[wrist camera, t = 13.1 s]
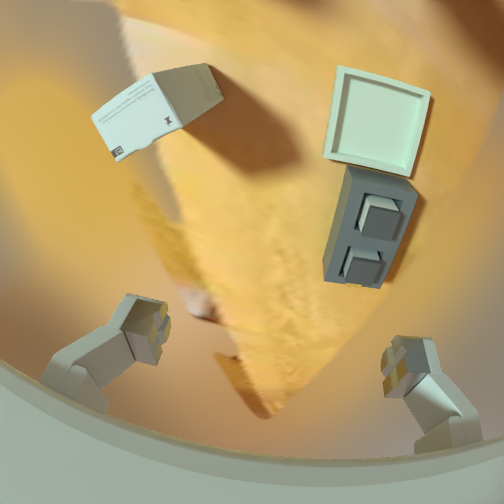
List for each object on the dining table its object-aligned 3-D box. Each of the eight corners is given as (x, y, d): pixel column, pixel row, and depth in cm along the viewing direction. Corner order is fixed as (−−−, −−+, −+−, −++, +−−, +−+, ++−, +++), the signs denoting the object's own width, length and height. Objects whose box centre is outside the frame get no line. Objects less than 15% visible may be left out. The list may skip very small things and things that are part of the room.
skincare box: (207, 62, 31) (155, 65, 19) (226, 101, 34) (186, 126, 22) (153, 91, 33) (86, 114, 22) (172, 127, 36) (114, 166, 25)
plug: (361, 187, 37) (371, 208, 32) (388, 192, 37) (400, 214, 32) (354, 212, 39) (362, 236, 34) (380, 217, 39) (390, 241, 34)
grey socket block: (346, 165, 36) (353, 181, 32) (406, 179, 36) (420, 196, 31) (322, 260, 46) (324, 283, 42) (374, 267, 46) (380, 291, 41)
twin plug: (348, 234, 41) (353, 259, 37) (373, 239, 41) (381, 264, 36) (341, 256, 44) (345, 282, 39) (365, 260, 44) (371, 286, 39)
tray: (336, 65, 29) (338, 65, 27) (425, 90, 28) (430, 92, 27) (322, 153, 36) (323, 157, 35) (405, 171, 35) (409, 177, 34)
